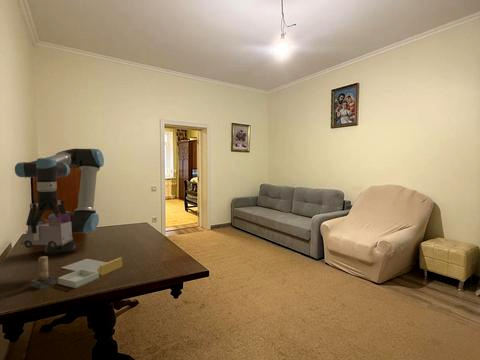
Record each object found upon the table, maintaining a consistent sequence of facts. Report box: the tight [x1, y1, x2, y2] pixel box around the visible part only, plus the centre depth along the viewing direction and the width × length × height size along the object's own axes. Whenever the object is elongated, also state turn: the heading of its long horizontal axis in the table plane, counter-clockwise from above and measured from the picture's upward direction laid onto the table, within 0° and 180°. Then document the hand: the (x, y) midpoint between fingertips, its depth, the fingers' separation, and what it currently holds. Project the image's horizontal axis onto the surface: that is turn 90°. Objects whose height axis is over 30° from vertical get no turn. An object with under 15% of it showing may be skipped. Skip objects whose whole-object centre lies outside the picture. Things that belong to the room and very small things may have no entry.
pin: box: [38, 255, 49, 282], centre depth 112 cm, size 3×3×12 cm
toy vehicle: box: [19, 214, 74, 249], centre depth 123 cm, size 9×20×15 cm, turn 90°
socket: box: [30, 274, 57, 290], centre depth 112 cm, size 6×6×2 cm
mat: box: [60, 258, 107, 277], centre depth 132 cm, size 26×14×1 cm, turn 68°
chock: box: [97, 257, 123, 276], centre depth 127 cm, size 3×12×4 cm, turn 158°
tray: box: [57, 269, 100, 289], centre depth 115 cm, size 11×11×3 cm
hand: (48, 237), depth 124 cm, fingers open, 10 cm apart
